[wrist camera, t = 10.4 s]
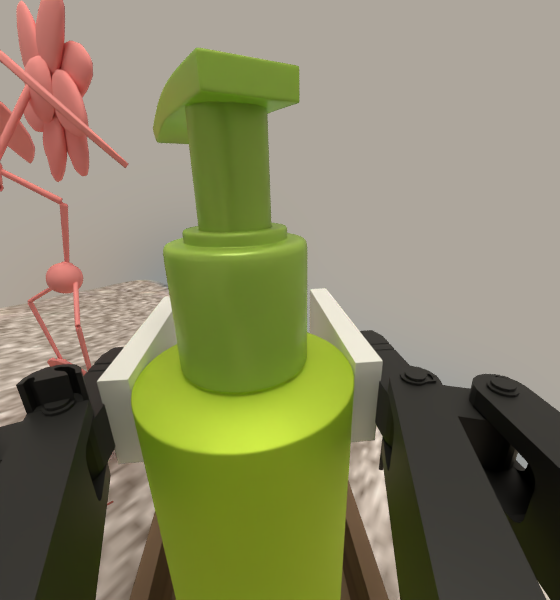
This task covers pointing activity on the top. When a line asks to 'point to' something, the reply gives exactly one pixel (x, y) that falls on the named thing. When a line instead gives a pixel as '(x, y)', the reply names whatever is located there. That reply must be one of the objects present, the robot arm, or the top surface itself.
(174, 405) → the soap dispenser
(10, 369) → the top surface
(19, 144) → the figurine
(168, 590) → the walnut caddy
